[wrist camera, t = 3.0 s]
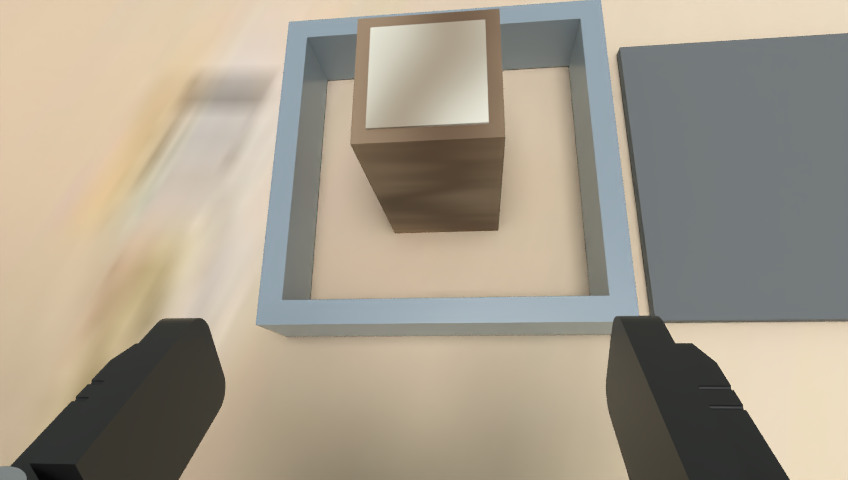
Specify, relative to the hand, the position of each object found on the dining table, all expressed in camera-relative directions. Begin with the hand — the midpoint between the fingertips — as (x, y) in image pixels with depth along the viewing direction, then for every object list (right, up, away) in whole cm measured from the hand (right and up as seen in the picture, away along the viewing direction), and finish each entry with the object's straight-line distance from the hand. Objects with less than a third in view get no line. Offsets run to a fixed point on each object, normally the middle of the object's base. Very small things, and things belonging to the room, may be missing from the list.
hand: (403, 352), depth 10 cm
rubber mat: (+17, +5, +14) cm, 23 cm away
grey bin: (+2, +5, +16) cm, 17 cm away
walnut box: (+2, +5, +16) cm, 17 cm away
